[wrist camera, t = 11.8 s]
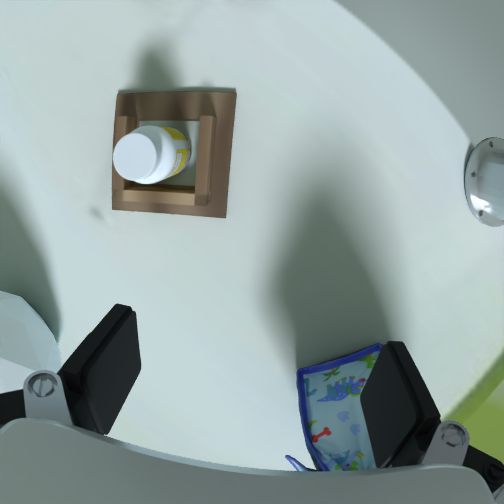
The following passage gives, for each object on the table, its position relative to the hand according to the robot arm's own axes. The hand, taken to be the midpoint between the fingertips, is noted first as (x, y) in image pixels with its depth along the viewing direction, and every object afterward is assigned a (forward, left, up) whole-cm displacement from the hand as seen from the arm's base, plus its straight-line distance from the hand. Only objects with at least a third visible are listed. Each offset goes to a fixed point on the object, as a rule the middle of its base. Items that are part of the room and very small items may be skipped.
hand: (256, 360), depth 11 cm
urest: (+11, -6, -25) cm, 28 cm away
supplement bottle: (+11, -6, -25) cm, 27 cm away
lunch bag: (-17, +29, -25) cm, 42 cm away
